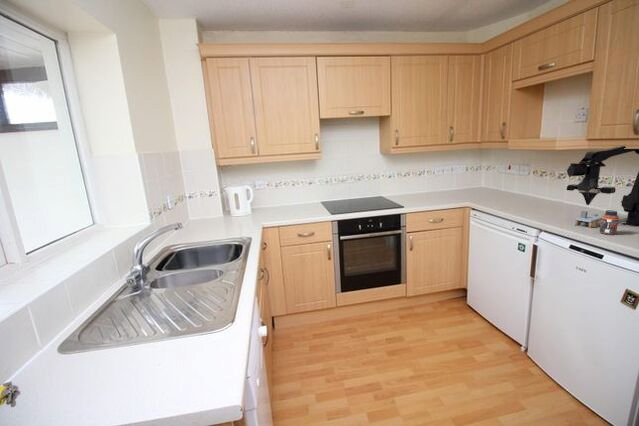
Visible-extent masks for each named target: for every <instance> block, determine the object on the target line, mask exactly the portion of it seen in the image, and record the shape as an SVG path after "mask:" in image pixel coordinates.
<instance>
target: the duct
mask: <svg viewBox="0 0 639 426" xmlns="http://www.w3.org/2000/svg"><path fill="white" fill-rule="evenodd" d="M601 220H602V219H600V220H597V221H594V222H589V225H588V229H592V228H595V227H599V226H600V225H601ZM581 222H582V221H579V220H576V219H575V221H574V226H577V227H578V226H579V225H580V223H581ZM580 226H581V225H580Z"/></svg>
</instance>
